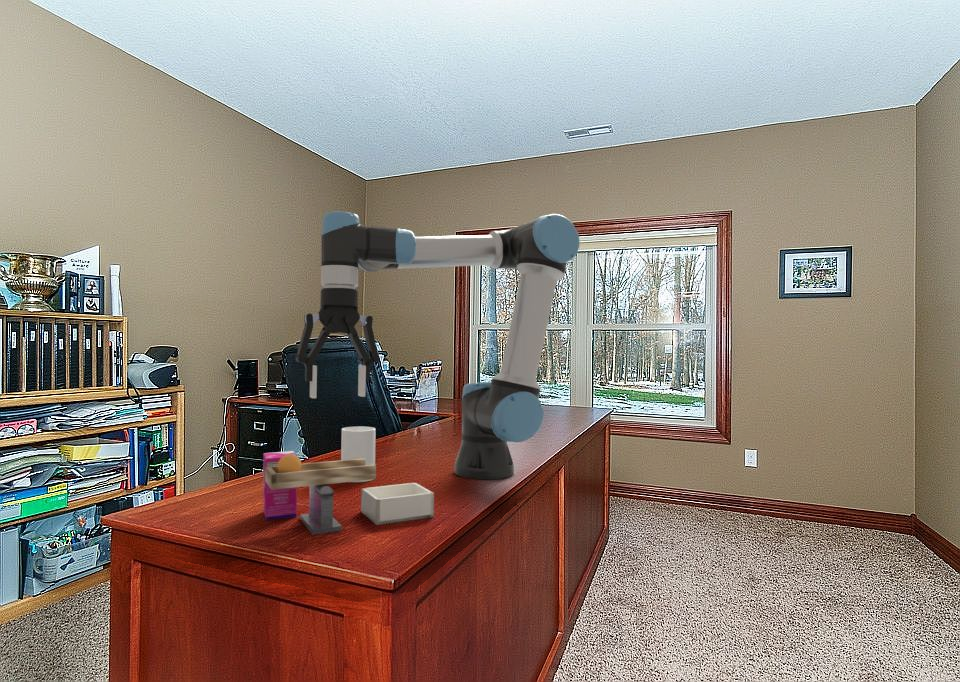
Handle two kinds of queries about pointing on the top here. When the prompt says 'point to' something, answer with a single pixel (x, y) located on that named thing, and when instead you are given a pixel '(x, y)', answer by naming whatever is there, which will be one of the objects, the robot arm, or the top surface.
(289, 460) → the ball
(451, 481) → the top surface
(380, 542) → the top surface
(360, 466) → the seesaw
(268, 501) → the supplement box
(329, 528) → the fulcrum
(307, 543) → the top surface
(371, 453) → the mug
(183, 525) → the top surface
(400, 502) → the white storage bin
